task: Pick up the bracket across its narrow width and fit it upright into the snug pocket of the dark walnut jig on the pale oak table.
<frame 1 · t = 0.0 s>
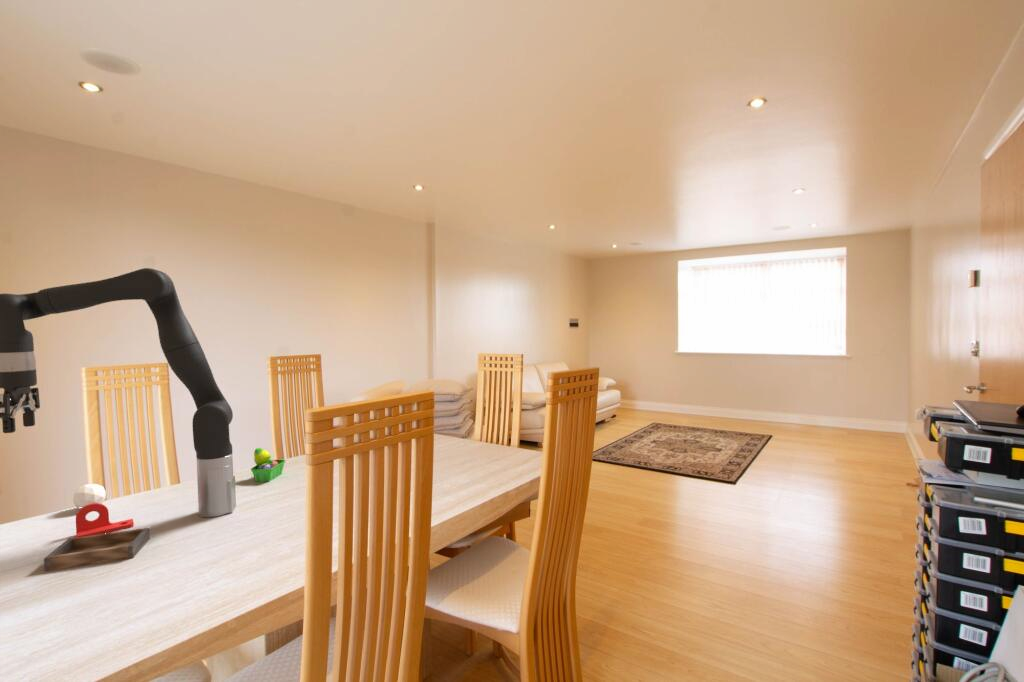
hand: (19, 429, 128), 29 cm above the table, tool pointing down, fingers open, 8 cm apart
fruit basket: (267, 478, 176), on the table
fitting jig: (100, 553, 119), on the table
geometric ball: (90, 509, 149), on the table
bracket: (105, 532, 132), on the table
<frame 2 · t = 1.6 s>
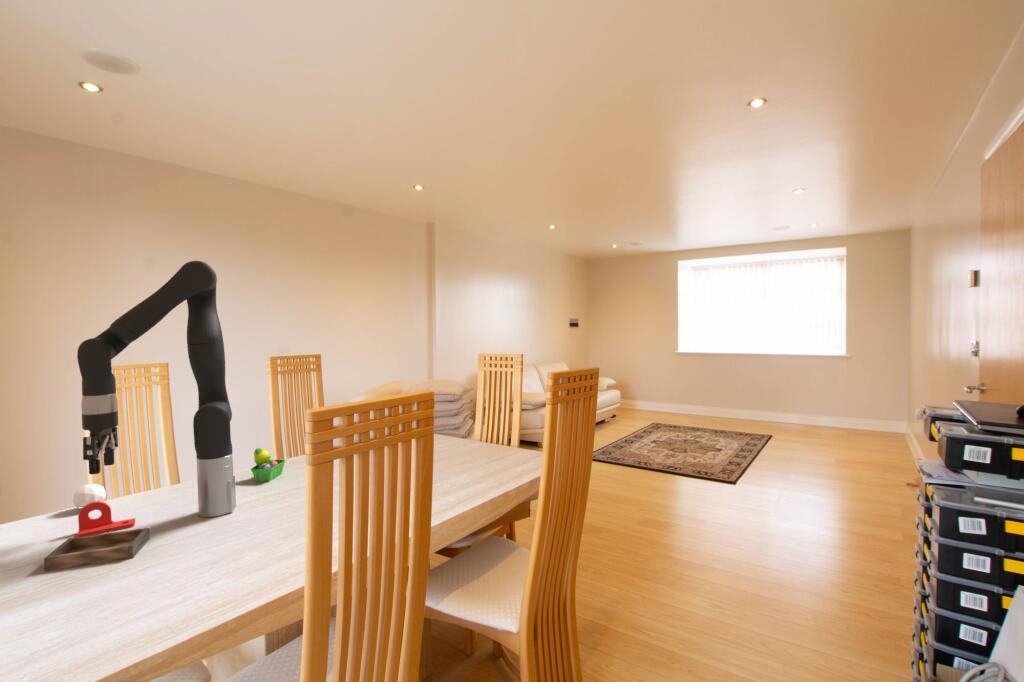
hand: (102, 469, 131), 17 cm above the table, tool pointing down, fingers open, 8 cm apart
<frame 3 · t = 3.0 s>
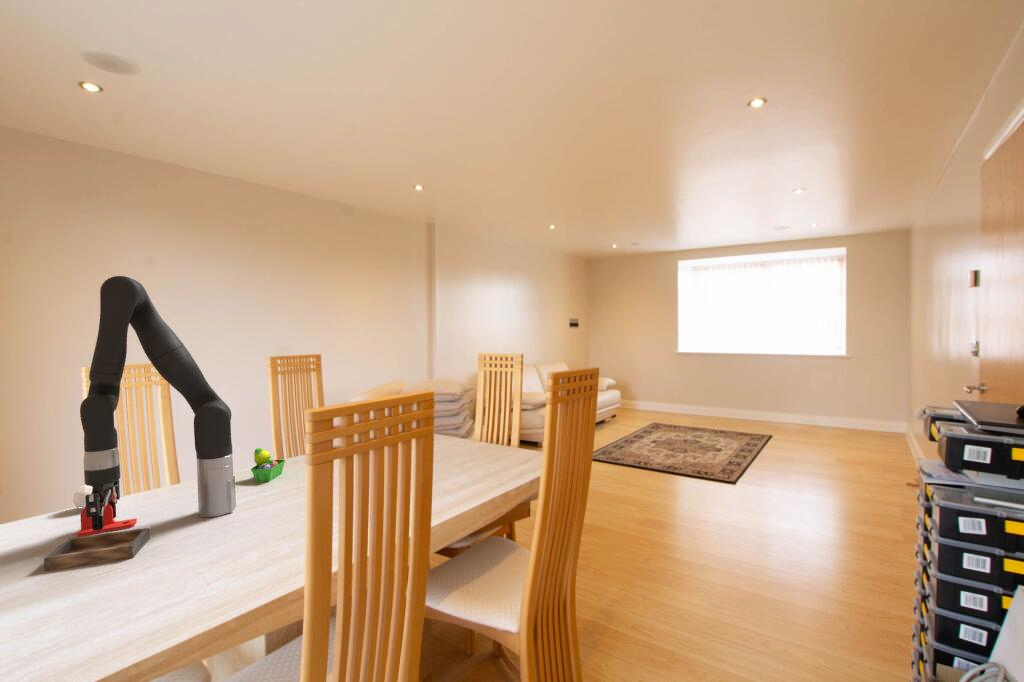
hand: (104, 523, 132), 2 cm above the table, tool pointing down, fingers open, 7 cm apart
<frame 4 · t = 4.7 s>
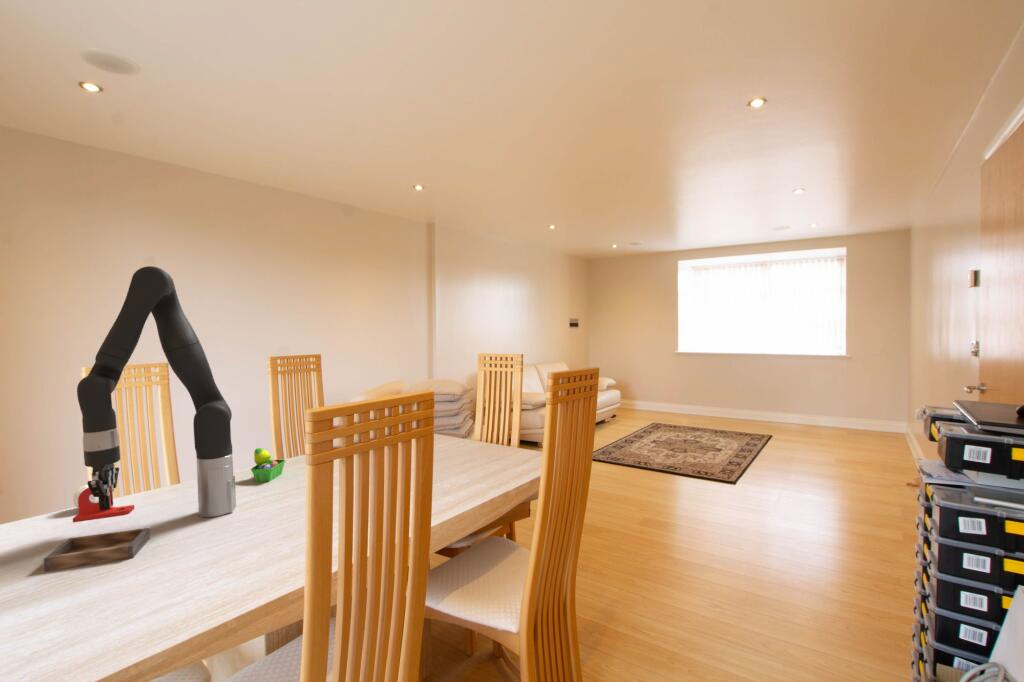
hand: (106, 507, 132), 6 cm above the table, tool pointing down, fingers closed on bracket
bracket: (104, 516, 131), point 5 cm above the table, touching gripper
everything else where it was.
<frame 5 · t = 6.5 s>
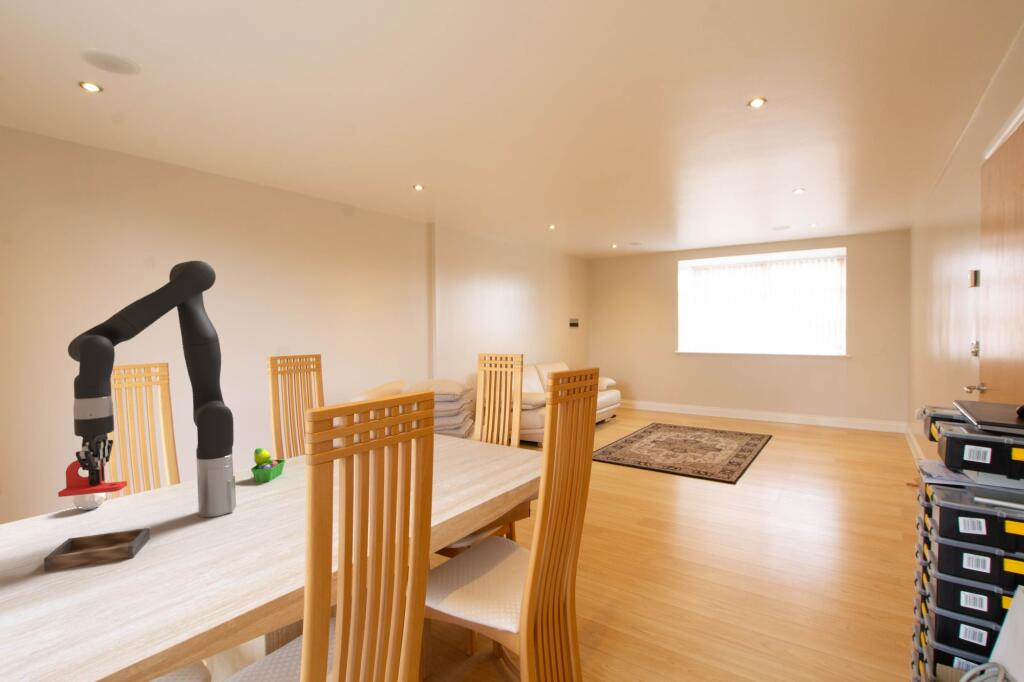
hand: (96, 483, 120), 17 cm above the table, tool pointing down, fingers closed on bracket
bracket: (93, 491, 119), point 16 cm above the table, touching gripper
everything else where it was.
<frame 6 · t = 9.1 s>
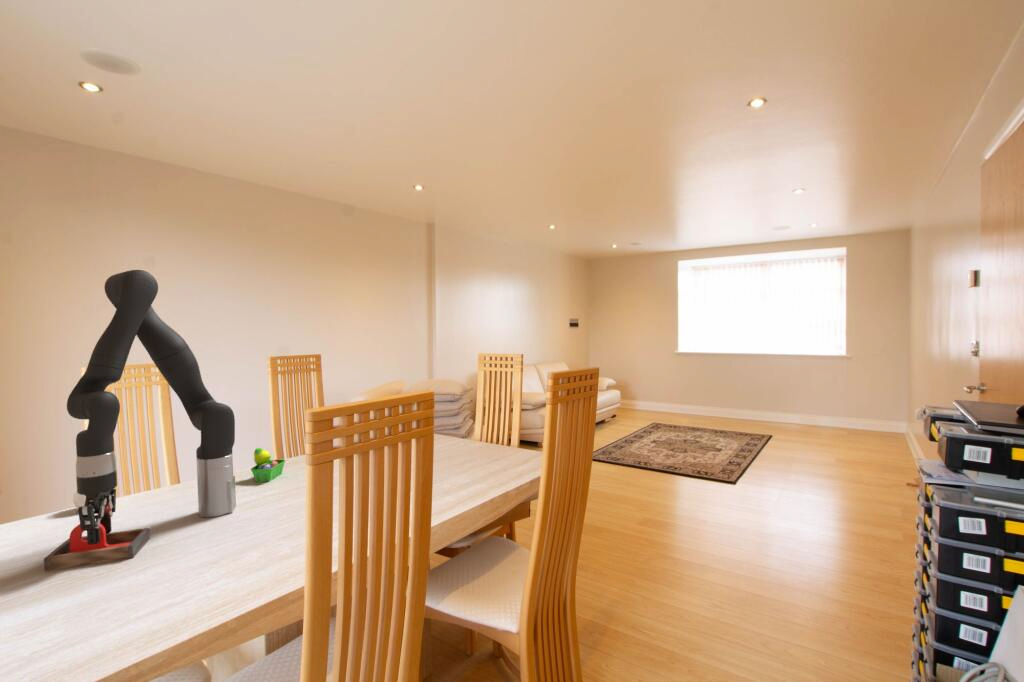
hand: (100, 538, 119), 4 cm above the table, tool pointing down, fingers open, 5 cm apart
bracket: (98, 555, 117), resting on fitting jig
everything else where it was.
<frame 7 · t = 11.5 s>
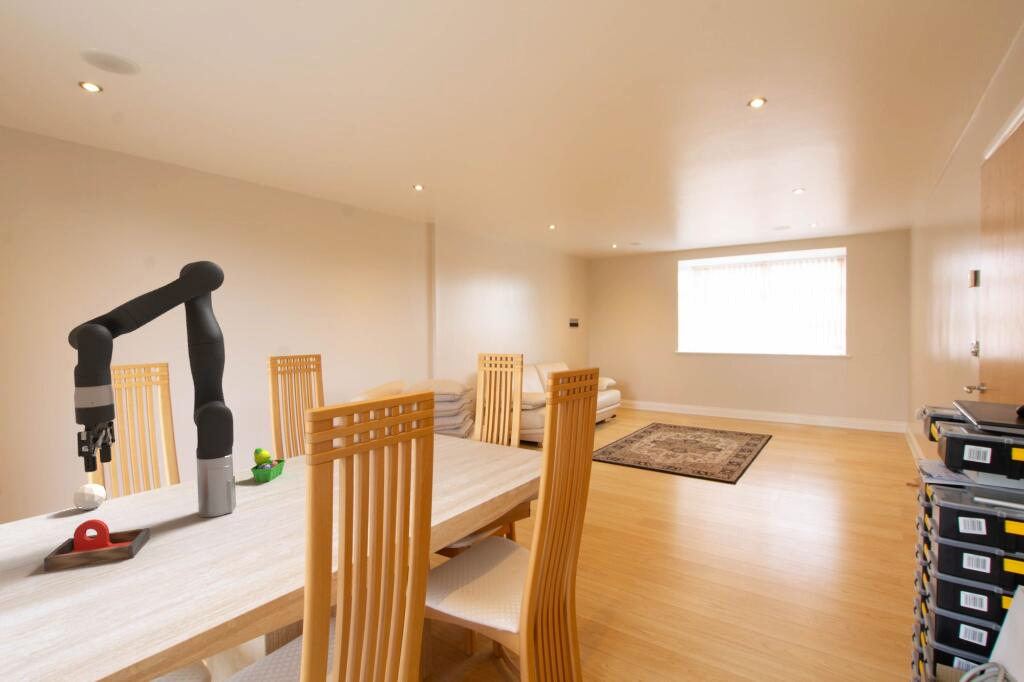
hand: (98, 466, 121), 21 cm above the table, tool pointing down, fingers open, 8 cm apart
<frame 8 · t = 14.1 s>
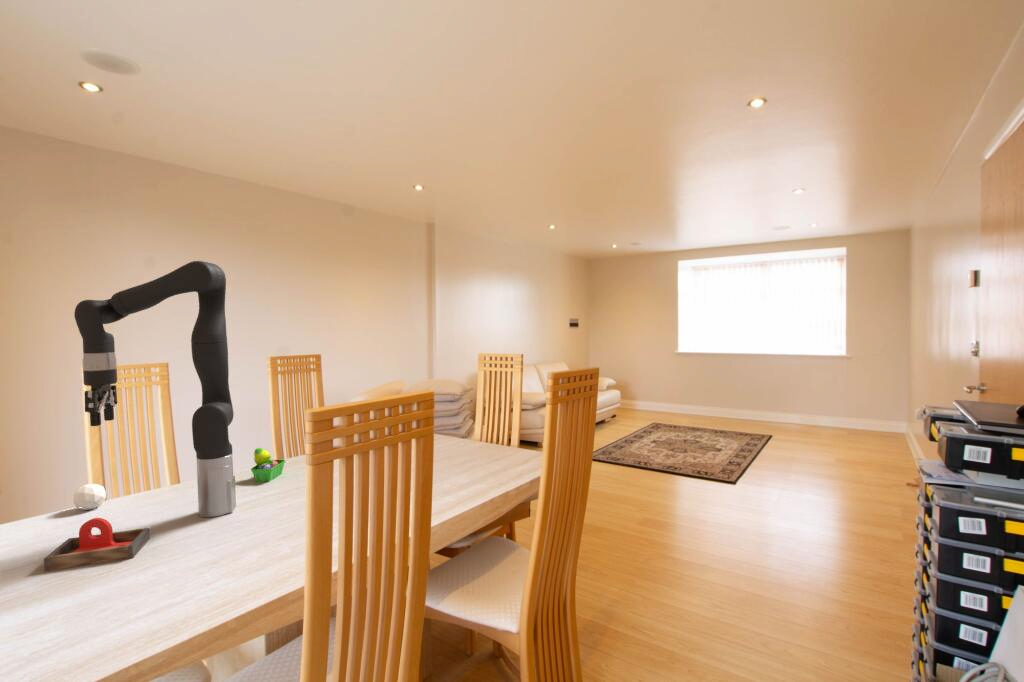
hand: (102, 423, 141), 28 cm above the table, tool pointing down, fingers open, 8 cm apart
at the end: bracket 0.8 cm off-centre on the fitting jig, point 0.3 cm above the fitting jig's base; bracket tilted 0°; the gripper is holding nothing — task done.
